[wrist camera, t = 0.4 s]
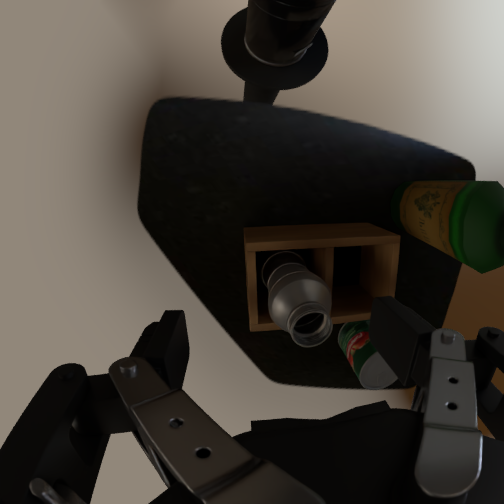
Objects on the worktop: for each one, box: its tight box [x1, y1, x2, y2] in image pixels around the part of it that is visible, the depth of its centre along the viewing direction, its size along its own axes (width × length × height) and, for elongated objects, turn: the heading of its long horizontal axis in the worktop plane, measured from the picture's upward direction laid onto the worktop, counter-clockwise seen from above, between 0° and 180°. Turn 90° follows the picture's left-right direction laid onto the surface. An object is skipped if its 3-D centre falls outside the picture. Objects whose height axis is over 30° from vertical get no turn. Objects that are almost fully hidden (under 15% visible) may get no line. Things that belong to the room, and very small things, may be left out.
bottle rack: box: [244, 223, 400, 332], centre depth 38 cm, size 11×19×10 cm, turn 93°
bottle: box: [390, 181, 504, 274], centre depth 28 cm, size 11×11×28 cm
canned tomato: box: [338, 319, 398, 390], centre depth 42 cm, size 8×8×11 cm
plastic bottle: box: [258, 249, 333, 347], centre depth 33 cm, size 6×7×20 cm
